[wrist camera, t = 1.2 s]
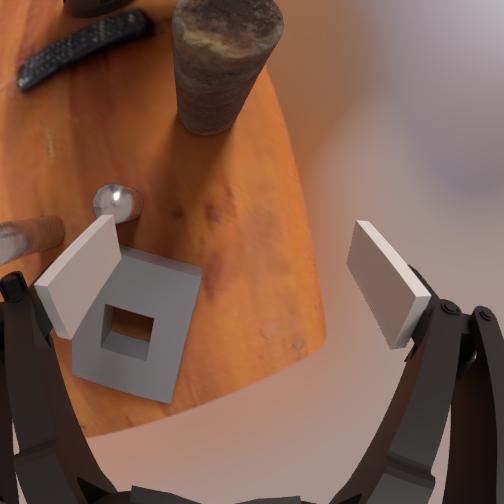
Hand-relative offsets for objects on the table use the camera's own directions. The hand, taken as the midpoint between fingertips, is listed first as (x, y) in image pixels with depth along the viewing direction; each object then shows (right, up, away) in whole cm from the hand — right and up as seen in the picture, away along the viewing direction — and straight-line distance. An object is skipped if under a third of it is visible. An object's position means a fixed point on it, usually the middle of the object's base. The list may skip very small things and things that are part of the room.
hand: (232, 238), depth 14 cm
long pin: (-25, +2, +15) cm, 29 cm away
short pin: (-14, +5, +17) cm, 22 cm away
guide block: (-14, -9, +19) cm, 25 cm away
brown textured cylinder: (-4, +17, +17) cm, 24 cm away
